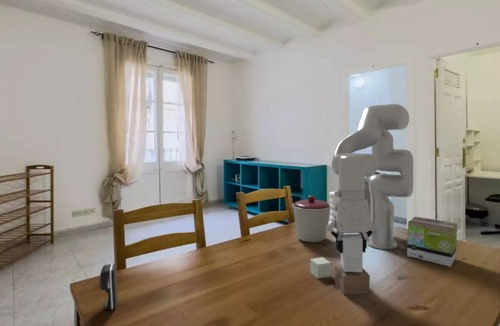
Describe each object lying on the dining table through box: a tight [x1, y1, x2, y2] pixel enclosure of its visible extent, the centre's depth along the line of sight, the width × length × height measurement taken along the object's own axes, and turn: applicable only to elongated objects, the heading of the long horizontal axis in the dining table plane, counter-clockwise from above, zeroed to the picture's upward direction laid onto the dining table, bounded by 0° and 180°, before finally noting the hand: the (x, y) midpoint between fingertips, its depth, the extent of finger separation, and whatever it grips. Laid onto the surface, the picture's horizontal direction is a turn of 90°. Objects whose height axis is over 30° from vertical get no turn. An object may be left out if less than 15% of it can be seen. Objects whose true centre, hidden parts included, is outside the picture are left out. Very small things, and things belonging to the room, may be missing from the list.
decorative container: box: [328, 190, 339, 225], centre depth 162 cm, size 12×12×18 cm
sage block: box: [309, 257, 331, 279], centre depth 103 cm, size 5×5×5 cm
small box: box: [340, 233, 364, 272], centre depth 92 cm, size 8×6×10 cm
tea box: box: [406, 216, 458, 268], centre depth 115 cm, size 15×10×15 cm
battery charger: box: [99, 263, 118, 310], centre depth 85 cm, size 7×4×11 cm, turn 20°
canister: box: [291, 195, 331, 244], centre depth 139 cm, size 18×18×21 cm
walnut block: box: [334, 264, 371, 295], centre depth 93 cm, size 8×8×6 cm
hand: (351, 250), depth 92 cm, fingers closed on small box, 6 cm apart
